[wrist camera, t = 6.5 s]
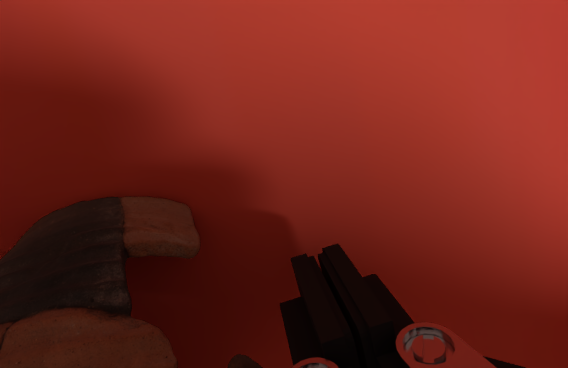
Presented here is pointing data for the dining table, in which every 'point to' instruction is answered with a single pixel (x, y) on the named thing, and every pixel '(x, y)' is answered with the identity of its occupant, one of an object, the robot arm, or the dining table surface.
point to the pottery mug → (90, 286)
